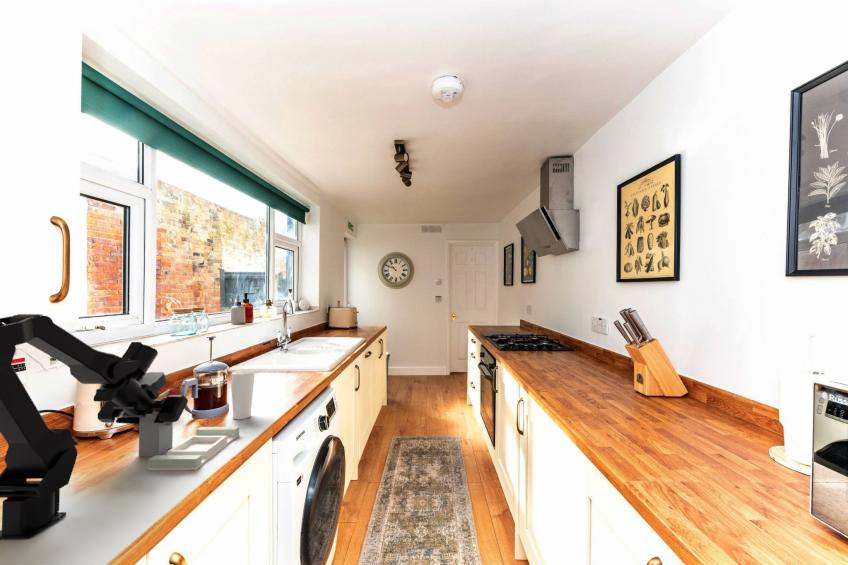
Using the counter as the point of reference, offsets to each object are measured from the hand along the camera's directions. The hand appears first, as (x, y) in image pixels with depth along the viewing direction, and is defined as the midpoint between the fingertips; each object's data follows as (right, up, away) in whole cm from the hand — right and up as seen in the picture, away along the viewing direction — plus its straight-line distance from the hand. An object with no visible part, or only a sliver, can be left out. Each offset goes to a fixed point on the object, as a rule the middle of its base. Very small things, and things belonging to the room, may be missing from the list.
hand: (160, 423), depth 94 cm
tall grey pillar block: (0, -7, -2) cm, 7 cm away
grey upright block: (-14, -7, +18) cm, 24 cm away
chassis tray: (+11, -7, -1) cm, 13 cm away
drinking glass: (+10, -7, +24) cm, 27 cm away
